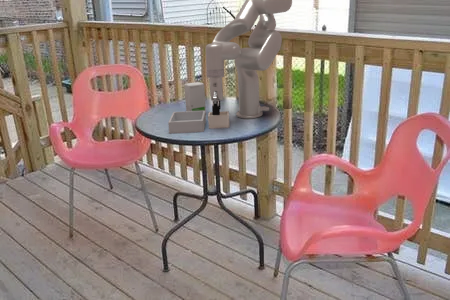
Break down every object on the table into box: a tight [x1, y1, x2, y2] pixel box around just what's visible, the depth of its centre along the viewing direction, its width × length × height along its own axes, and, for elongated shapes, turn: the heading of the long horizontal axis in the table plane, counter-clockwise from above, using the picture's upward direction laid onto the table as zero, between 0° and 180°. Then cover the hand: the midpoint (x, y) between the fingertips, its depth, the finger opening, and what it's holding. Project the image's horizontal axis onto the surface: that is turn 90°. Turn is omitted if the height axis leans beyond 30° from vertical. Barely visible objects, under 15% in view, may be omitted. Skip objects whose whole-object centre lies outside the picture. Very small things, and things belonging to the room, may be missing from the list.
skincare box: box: [183, 81, 207, 113], centre depth 208 cm, size 8×7×16 cm
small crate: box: [207, 110, 230, 130], centre depth 191 cm, size 9×6×6 cm, turn 89°
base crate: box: [167, 110, 207, 134], centre depth 193 cm, size 15×16×5 cm
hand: (216, 112), depth 189 cm, fingers open, 9 cm apart
